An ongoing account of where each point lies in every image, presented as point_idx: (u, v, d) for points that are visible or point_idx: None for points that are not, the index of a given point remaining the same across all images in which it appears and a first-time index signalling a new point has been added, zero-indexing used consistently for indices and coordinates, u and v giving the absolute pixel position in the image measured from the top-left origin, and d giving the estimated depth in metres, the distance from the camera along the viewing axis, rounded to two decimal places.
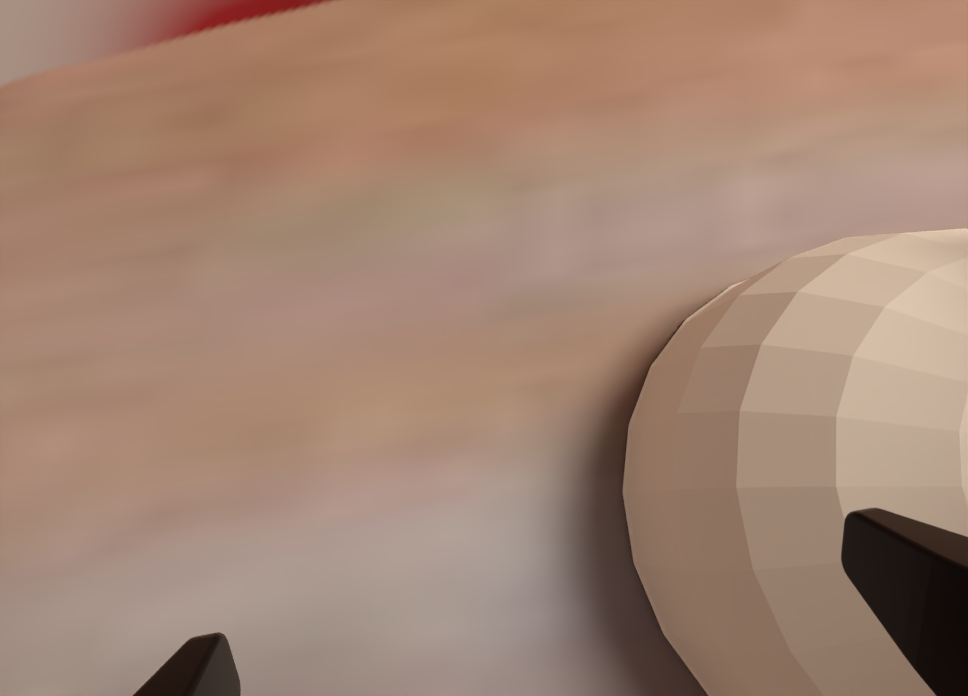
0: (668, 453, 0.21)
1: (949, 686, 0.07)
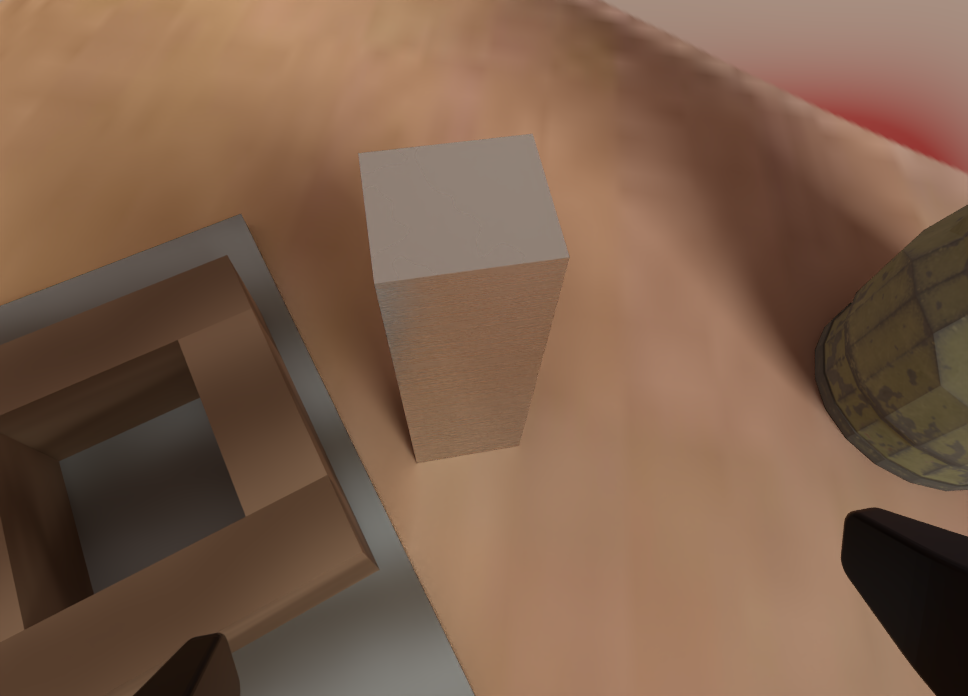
0: None
1: (949, 686, 0.07)
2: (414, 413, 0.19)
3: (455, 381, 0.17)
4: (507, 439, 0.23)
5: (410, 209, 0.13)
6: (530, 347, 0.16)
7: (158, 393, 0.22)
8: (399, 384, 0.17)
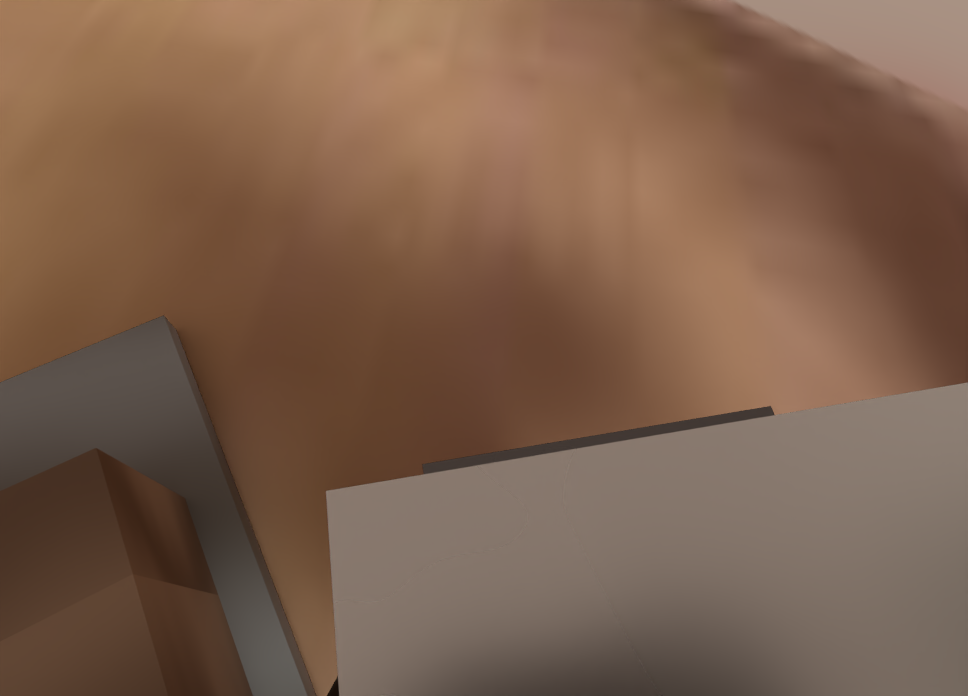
0: None
1: None
2: None
3: None
4: None
5: None
6: None
7: None
8: None
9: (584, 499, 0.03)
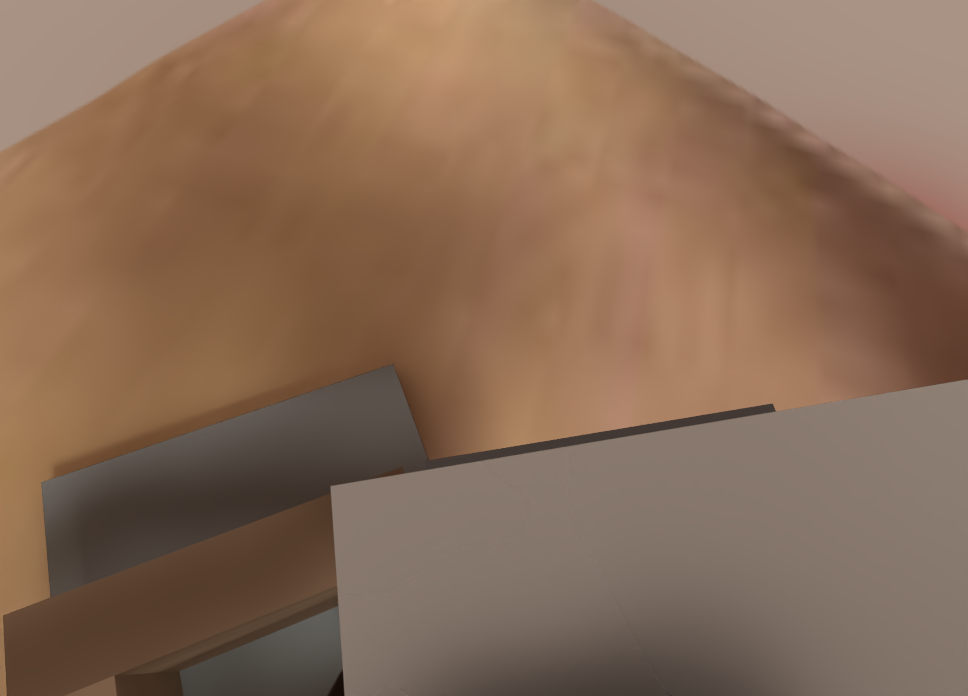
0: None
1: None
2: None
3: None
4: None
5: None
6: None
7: (302, 613, 0.18)
8: None
9: (587, 494, 0.03)
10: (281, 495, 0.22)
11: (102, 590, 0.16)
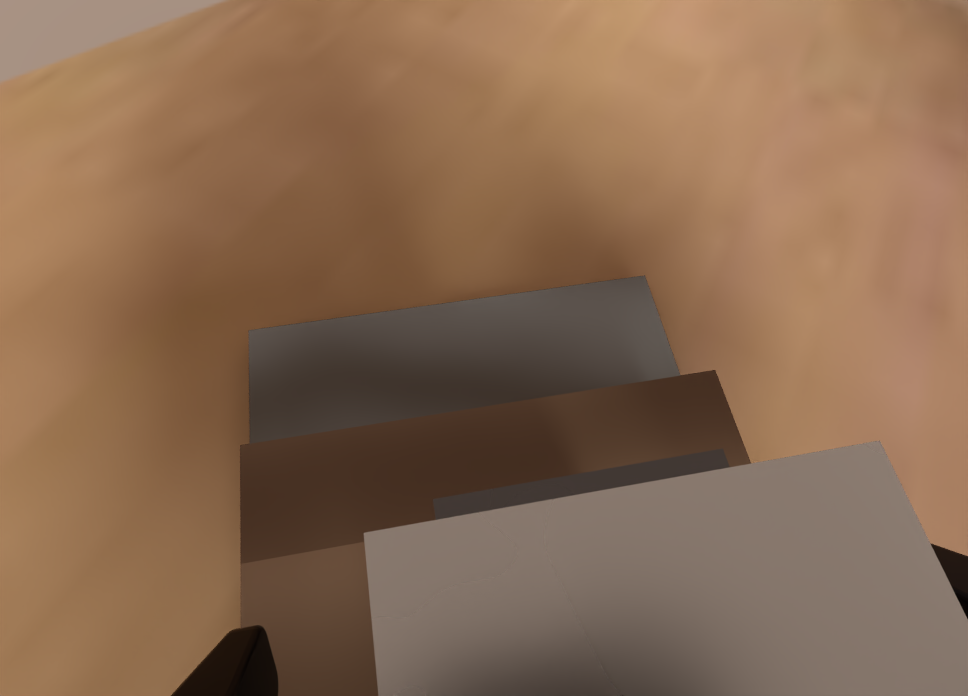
0: None
1: None
2: None
3: None
4: None
5: None
6: None
7: None
8: None
9: (560, 538, 0.04)
10: (512, 394, 0.18)
11: (354, 440, 0.13)
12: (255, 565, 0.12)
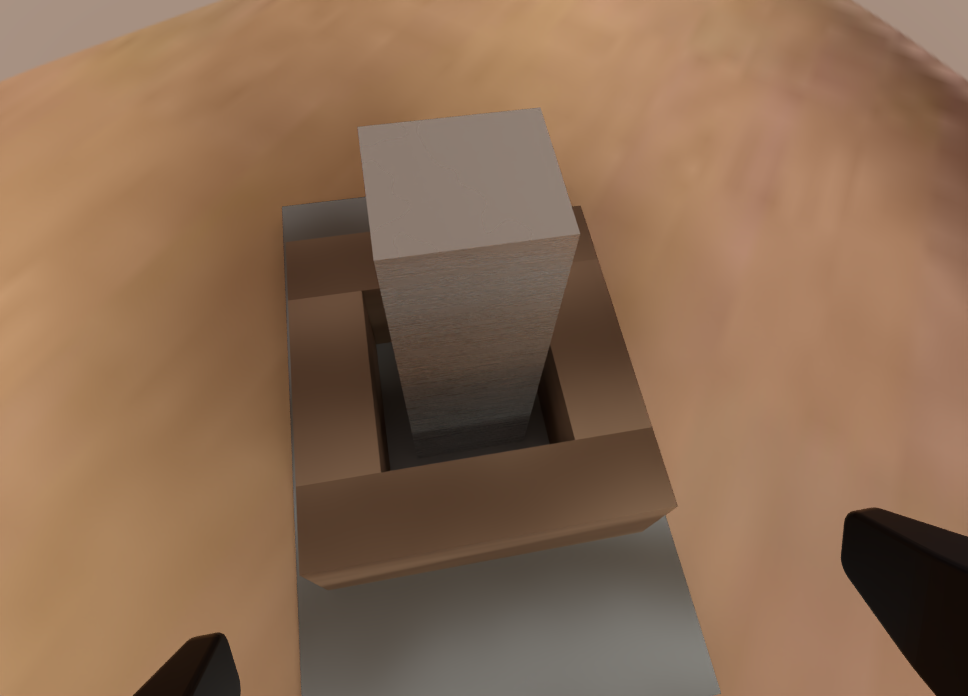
0: None
1: (949, 686, 0.07)
2: (415, 404, 0.18)
3: (458, 370, 0.16)
4: (511, 433, 0.22)
5: (412, 185, 0.12)
6: (537, 333, 0.15)
7: None
8: (400, 373, 0.16)
9: (423, 129, 0.13)
10: None
11: (354, 240, 0.22)
12: (296, 301, 0.21)
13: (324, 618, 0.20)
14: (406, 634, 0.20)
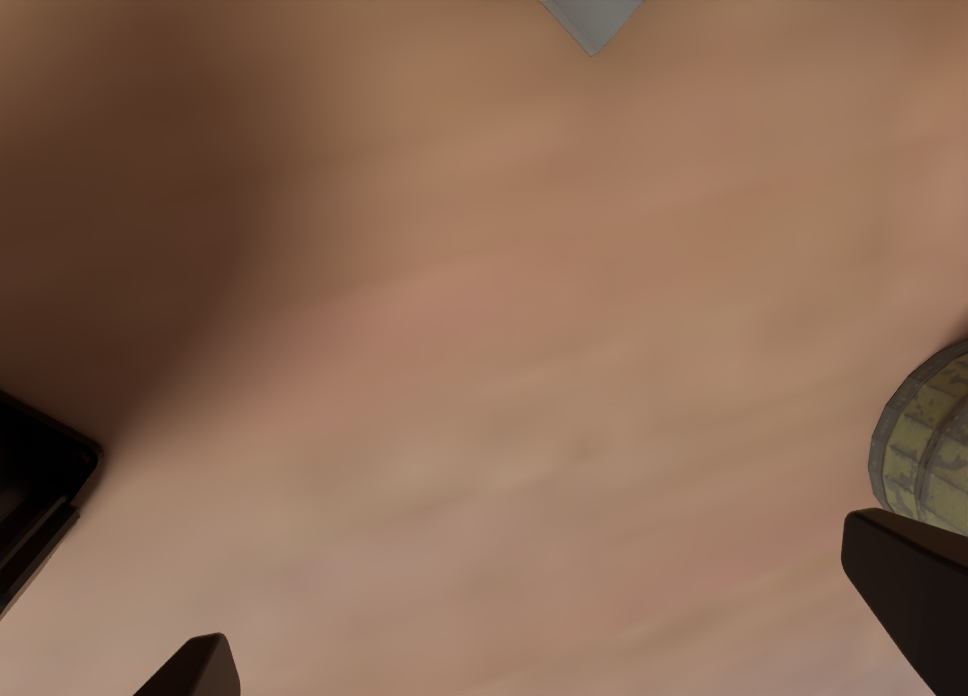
0: None
1: (949, 686, 0.07)
2: None
3: None
4: None
5: None
6: None
7: None
8: None
9: None
10: None
11: None
12: None
13: None
14: None
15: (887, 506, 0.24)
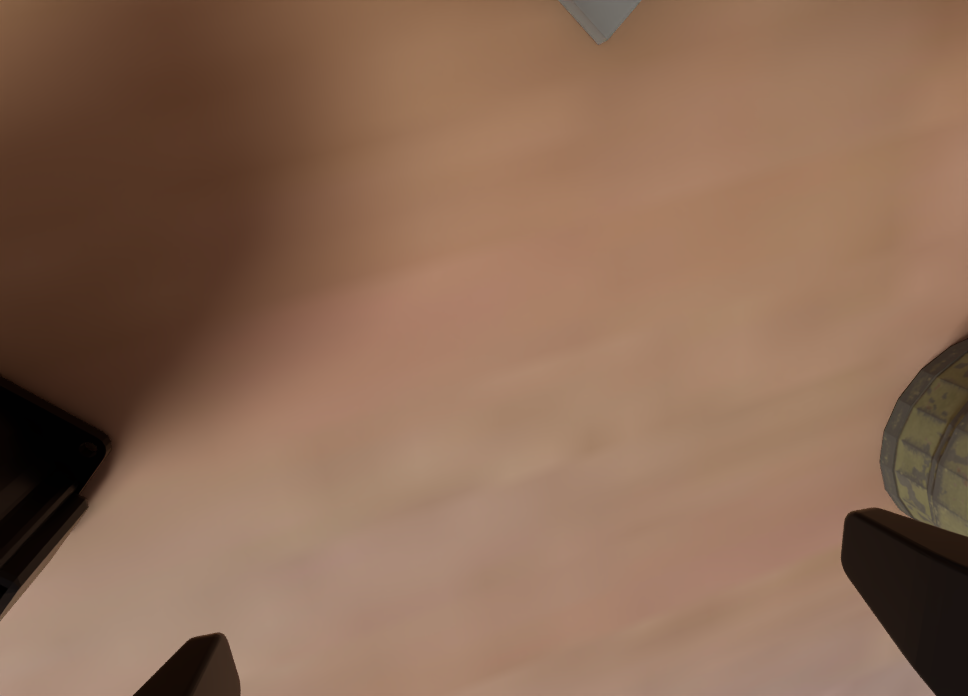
0: None
1: (949, 686, 0.07)
2: None
3: None
4: None
5: None
6: None
7: None
8: None
9: None
10: None
11: None
12: None
13: None
14: None
15: (899, 501, 0.24)
